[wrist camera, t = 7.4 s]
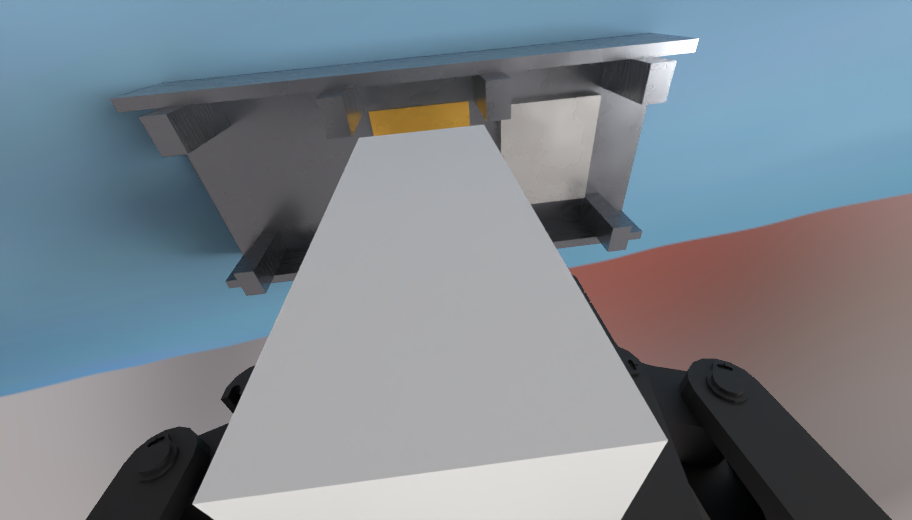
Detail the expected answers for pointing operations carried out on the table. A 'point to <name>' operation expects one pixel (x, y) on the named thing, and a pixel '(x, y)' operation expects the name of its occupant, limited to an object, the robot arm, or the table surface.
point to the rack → (411, 110)
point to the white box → (433, 361)
